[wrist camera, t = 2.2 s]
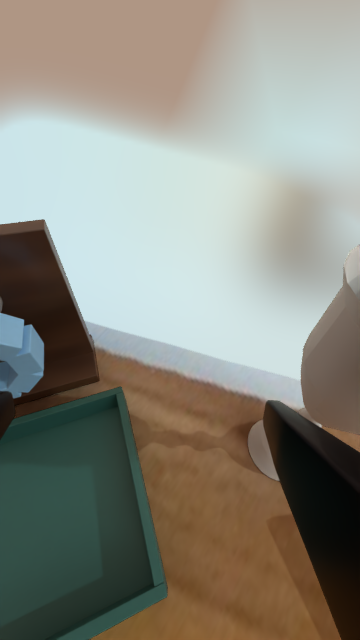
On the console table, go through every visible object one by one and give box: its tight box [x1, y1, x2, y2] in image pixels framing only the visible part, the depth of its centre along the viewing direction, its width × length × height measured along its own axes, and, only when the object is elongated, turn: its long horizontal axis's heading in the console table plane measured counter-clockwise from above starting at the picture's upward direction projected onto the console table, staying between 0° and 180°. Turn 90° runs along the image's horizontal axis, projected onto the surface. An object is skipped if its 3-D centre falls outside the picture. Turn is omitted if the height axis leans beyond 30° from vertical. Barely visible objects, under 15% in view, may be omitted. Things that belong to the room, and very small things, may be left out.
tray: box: [0, 387, 168, 640], centre depth 17 cm, size 13×16×3 cm
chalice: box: [248, 245, 360, 481], centre depth 15 cm, size 7×7×18 cm
